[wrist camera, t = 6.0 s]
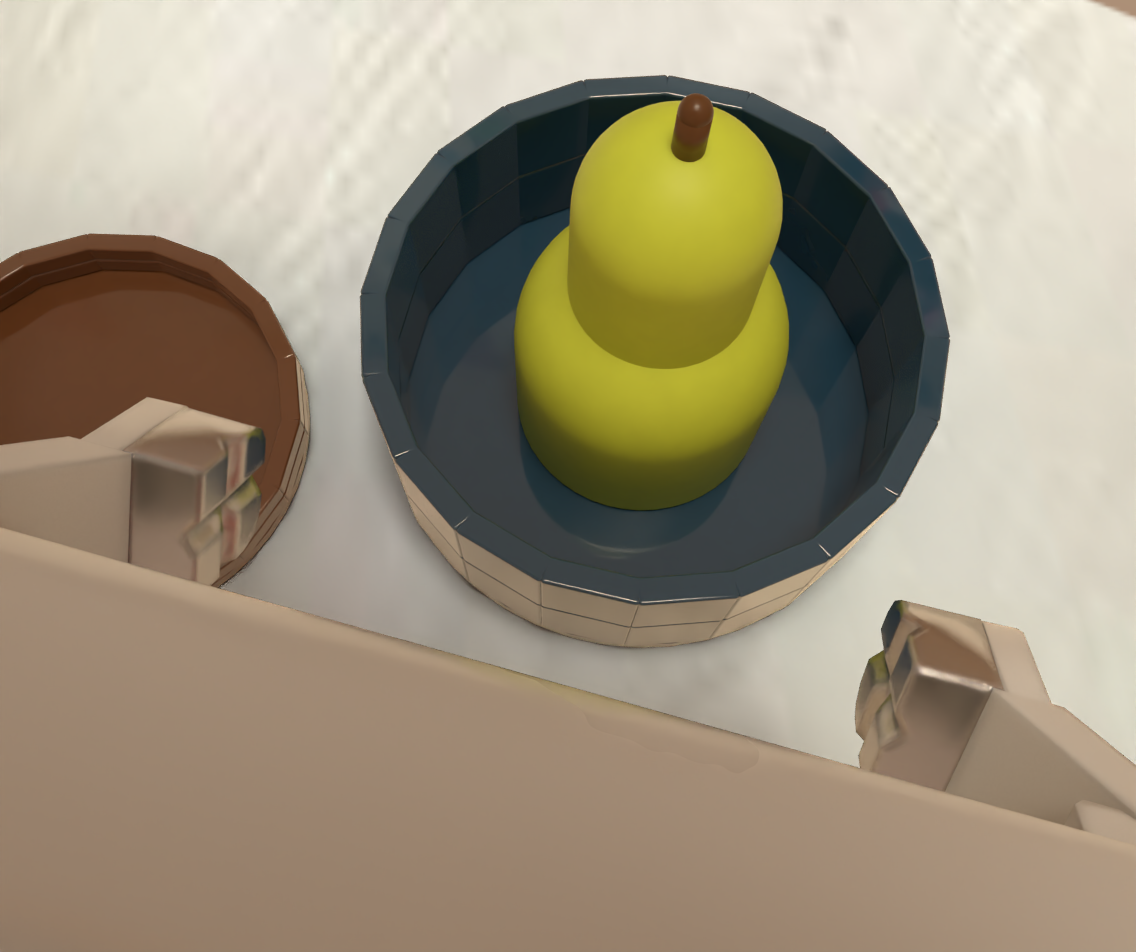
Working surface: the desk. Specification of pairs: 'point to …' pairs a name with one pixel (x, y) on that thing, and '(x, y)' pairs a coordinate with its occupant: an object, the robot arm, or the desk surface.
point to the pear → (656, 311)
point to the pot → (781, 445)
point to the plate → (148, 352)
